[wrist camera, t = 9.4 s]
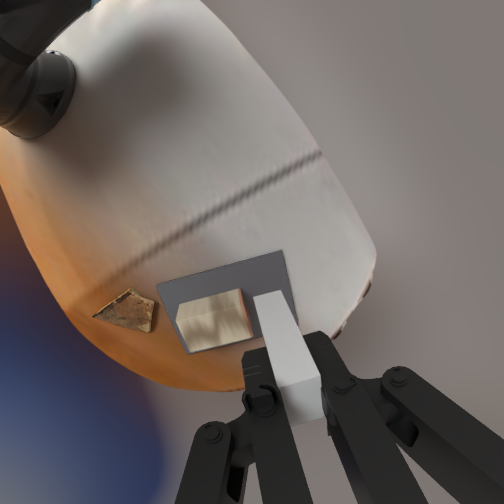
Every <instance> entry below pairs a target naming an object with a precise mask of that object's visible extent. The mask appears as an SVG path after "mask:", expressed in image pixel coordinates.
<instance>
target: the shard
mask: <svg viewBox="0 0 504 504" xmlns="http://www.w3.org/2000/svg"><path fill="white" fill-rule="evenodd" d="M154 304H155V303H154V301H152V300H148V299H146V298H144V297H142V296H141V295H140V294H139V293H138V292H137V291H136V290H135V289H133V288H130V289H129V290H127V291H126V292H125V293H124V294H122V295H120V296H119V297H118V298H117V299H115V300H113V301H112V302H110V303H109V304H107V305H106V306H104V307H103V308H101V309H100V311H98V312H97V313H95V314H94V315H93V316H92V317H94V318H97V319H100V320H105V321H107V322H110V323H113V324H115V325H118V326H122V327H125V328H129V329H132V330H137V331H143V332H150V329H151V319H152V312H153V307H154Z"/></svg>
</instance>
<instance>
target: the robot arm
mask: <svg viewBox="0 0 504 504" xmlns="http://www.w3.org/2000/svg"><path fill="white" fill-rule="evenodd" d="M99 1H101V0H0V126H1V127H3V128H5V129H6V130H8V131H9V132H10V133H11V134H13V135H14V136H17V137H20V138H35V137H38V136H41V135H43V134H45V133H46V132H48V131H49V130H50V129H51V128H52V127H53V126H55V124H56V123H57V122H58V121H59V120H60V118H61V117H62V116H63V114H64V113H65V111H66V109H67V107H68V105H69V103H70V101H71V98H72V95H73V91H74V87H75V70H74V66H73V64H72V62H71V60H70V59H69V58H68V57H67V56H65V55H63V54H61V53H60V52H58V51H54V50H45V49H46V48H47V47H48V46H49V45H50V44H51V43H52V42H53V41H54V40H55V39H56V38H57V37H58V36H59V35H60V34H61V33H63V32H64V31H65V30H66V29H67V28H68V27H69V26H70V25H71V24H73V23H74V22H75V21H76V20H77V19H78V18H80V17H81V16H82V15H83V14H84V13H86V12H89V11H90V10H92V9H93V7H94V6H95V5H96V4H97V3H98V2H99ZM44 50H45V51H44ZM253 299H254V302H255V306H256V310H257V314H258V318H259V322H260V326H261V330H262V334H263V337H264V341H265V345H266V347H262V348H258V349H254V350H250V351H246V352H245V353H244V355H243V358H242V360H241V361H242V368H243V374H244V381H245V388H246V390H245V391H244V393H243V395H242V402H243V404H244V407H245V409H246V410H245V412H244V413H243V414H242V415H241V416H240V417H238V418H237V419H235V420H233V421H231V422H229V423H227V424H225V423H223V422H218V421H213V422H208V423H206V424H204V425H202V426H201V427H200V428H199V429H198V430H197V432H196V434H195V436H194V440H193V443H192V446H191V450H190V453H189V457H188V460H187V463H186V467H185V470H184V474H183V477H182V481H181V483H180V487H179V490H178V494H177V497H176V500H175V504H243V500H244V494H245V487H246V481H247V474H248V467H249V465H250V464H252V463H254V462H256V468H257V474H258V479H259V485H260V490H261V495H262V501H263V504H313V501H312V498H311V495H310V491H309V488H308V485H307V481H306V478H305V475H304V472H303V468H302V465H301V461H300V458H299V454H298V451H297V448H296V444H295V441H294V438H293V434H292V431H291V427H292V426H296V425H299V424H303V423H306V422H309V421H313V420H316V419H319V418H322V417H324V414H325V416H326V418H327V430H328V436H330V435H331V437H332V440H333V442H334V445H335V447H336V450H337V452H338V455H339V457H340V460H341V462H342V465H343V467H344V470H345V472H346V475H347V477H348V480H349V482H350V485H351V487H352V490H353V493H354V495H355V497H356V500H357V502H358V504H428V502H427V500H426V498H425V496H424V494H423V492H422V490H421V489H420V487H419V485H418V483H417V481H416V479H415V477H414V475H413V474H412V472H411V470H410V468H409V466H408V464H407V463H406V461H405V459H404V457H403V455H402V454H401V452H400V450H399V448H398V446H397V445H396V443H397V444H398V445H399V446H400V447H401V448H402V449H403V450H404V451H405V452H406V453H407V454H408V455H409V456H410V457H411V458H412V459H413V460H414V461H415V462H416V463H417V464H418V465H419V466H421V468H422V469H423V470H424V471H426V472H427V473H428V474H429V475H430V476H431V477H432V478H433V479H434V480H435V481H436V482H437V483H438V484H439V485H440V486H442V487H443V488H444V489H445V490H446V491H447V492H448V493H449V494H450V495H451V496H452V497H454V498H455V499H456V500H457V501H458V502H459V503H460V504H504V439H502V438H501V437H500V436H498V435H497V434H496V433H494V432H493V431H492V430H490V429H489V428H487V427H486V426H485V425H484V424H482V423H481V422H480V421H478V420H477V419H476V418H474V417H473V416H472V415H470V414H469V413H468V412H466V411H465V410H464V409H462V408H461V407H460V406H458V405H457V404H456V403H454V402H453V401H452V400H451V399H449V398H448V397H447V396H445V395H444V394H442V393H441V392H440V391H439V390H437V389H436V388H435V387H433V386H432V385H431V384H429V383H428V382H427V381H425V380H424V379H423V378H421V377H420V376H419V375H417V374H416V373H415V372H413V371H412V370H411V369H409V368H407V367H401V366H397V367H392V368H391V369H388V370H387V371H386V372H385V373H384V374H383V377H382V378H375V379H360V378H357V377H356V376H354V375H352V374H351V373H350V372H349V371H348V369H347V367H346V366H345V364H344V362H343V360H342V359H341V357H340V355H339V354H338V352H337V350H336V349H335V347H334V345H333V344H332V342H331V340H330V338H329V337H328V335H326V334H325V333H323V332H321V331H317V332H313V333H310V334H307V335H303V336H302V335H301V332H300V330H299V328H298V326H297V324H296V322H295V320H294V317H293V315H292V313H291V311H290V309H289V307H288V305H287V302H286V300H285V298H284V296H283V294H282V292H281V290H278V291H274V292H270V293H267V294H263V295H259V296H255V297H253Z"/></svg>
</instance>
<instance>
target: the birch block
mask: <svg viewBox="0 0 504 504" xmlns="http://www.w3.org/2000/svg"><path fill="white" fill-rule="evenodd" d="M176 323H177V325H178V328H179V330H180V332H181V334H182V336H183V338H184V340H185V343H186V345H187V347H188V349H189V351H190V352H194V351H198V350H203V349H207V348H212V347H216V346H220V345H224V344H228V343H232V342H236V341H240V340H244V339H248V338H252V337H253V332H252V327H251V322H250V318H249V315H248V311H247V308H246V305H245V302H244V298H243V295H242V292H241V289H240V288H238V289H235V290H231V291H227V292H224V293H220V294H216V295H213V296H209V297H205V298H201V299H197V300H194V301H190V302H186V303H182V304H179V308H178V312H177V316H176Z"/></svg>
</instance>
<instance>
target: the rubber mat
mask: <svg viewBox="0 0 504 504" xmlns="http://www.w3.org/2000/svg"><path fill="white" fill-rule="evenodd" d="M156 287H157V289H158V292H159V294H160V297H161V299H162V301H163V304H164V306H165V308H166V310H167V313H168V315H169V317H170V319H171V321H172V324H173V326H174V328H175V330H176V332H177V334H178V336H179V339H180V341H181V343H182V345H183V347H184V349H185V351H186V353H187V354H191V353H196V352H200V351H205V350H209V349H214V348H218V347H222V346H226V345H230V344H234V343H238V342H242V341H246V340H250V339H254V338H257V337H261V336H263V334H262V330H261V326H260V322H259V318H258V314H257V310H256V306H255V302H254V299H253V297H255V296H259V295H263V294H267V293H270V292H274V291H278V290H281V292H282V294H283V296H284V298H285V300H286V302H287V305H288V307H289V309H290V311H291V313H292V315H293V317H294V320H295V322H296V324H297V326H298V323H297V318H296V313H295V308H294V303H293V299H292V294H291V289H290V285H289V280H288V276H287V271H286V267H285V262H284V258H283V253H282V250H280V251H276V252H273V253H269V254H265V255H262V256H258V257H255V258H251V259H247V260H244V261H240V262H237V263H233V264H230V265H226V266H222V267H219V268H215V269H211V270H208V271H204V272H201V273H197V274H193V275H190V276H186V277H182V278H179V279H175V280H171V281H168V282H164V283H161V284H157V285H156ZM238 288H240V289H241V292H242V295H243V298H244V302H245V305H246V308H247V311H248V315H249V318H250V322H251V327H252V332H253V337H252V338H248V339H244V340H240V341H236V342H232V343H228V344H224V345H220V346H216V347H212V348H207V349H203V350H198V351H194V352H190V351H189V349H188V347H187V345H186V343H185V340H184V338H183V336H182V334H181V332H180V330H179V328H178V325H177V323H176V316H177V312H178V308H179V304H182V303H186V302H190V301H194V300H197V299H201V298H205V297H209V296H213V295H216V294H220V293H224V292H227V291H231V290H235V289H238Z"/></svg>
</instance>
